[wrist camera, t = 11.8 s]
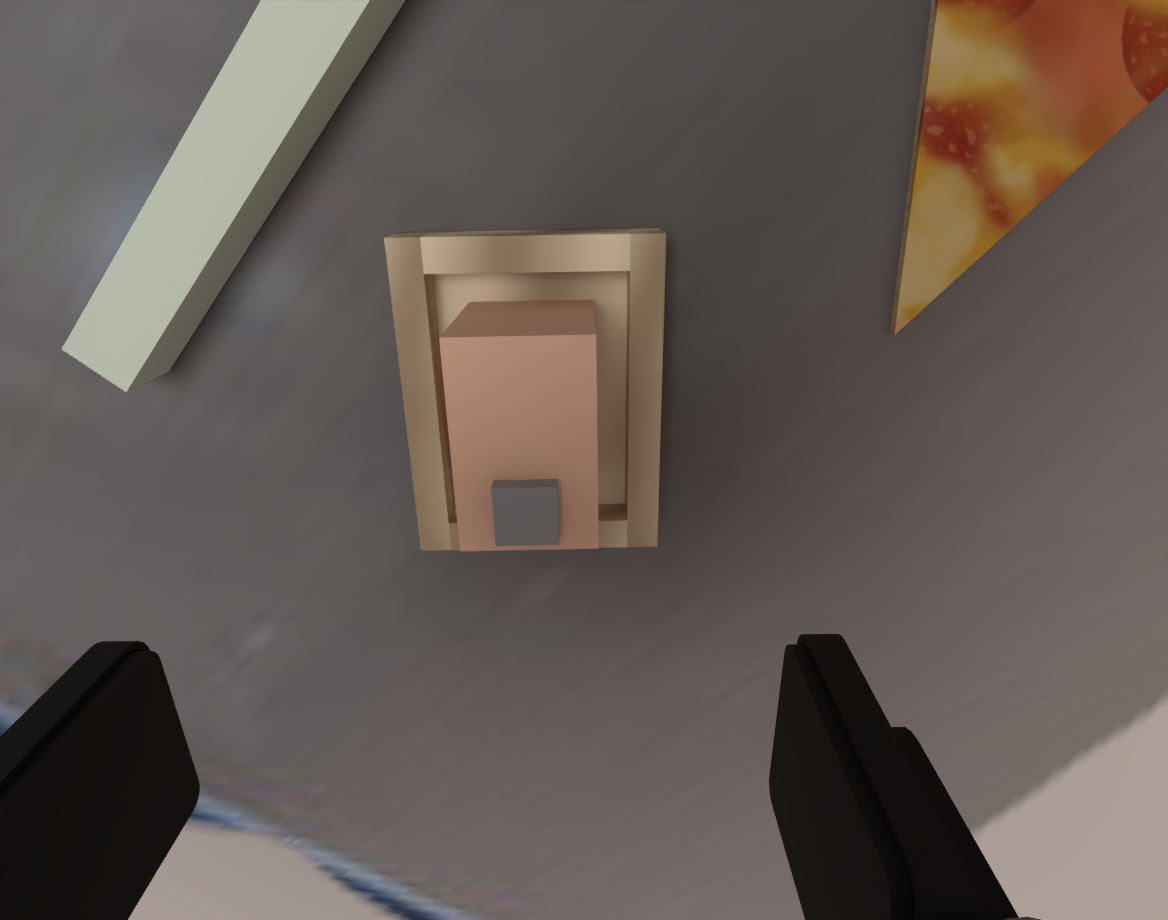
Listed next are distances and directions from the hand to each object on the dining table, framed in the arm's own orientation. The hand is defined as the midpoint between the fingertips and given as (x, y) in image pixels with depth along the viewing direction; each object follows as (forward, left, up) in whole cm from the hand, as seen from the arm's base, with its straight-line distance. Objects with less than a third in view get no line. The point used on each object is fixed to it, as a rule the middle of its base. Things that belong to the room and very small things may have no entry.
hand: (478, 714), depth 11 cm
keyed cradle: (0, 0, -18) cm, 18 cm away
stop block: (0, 0, -18) cm, 18 cm away
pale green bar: (+8, -10, -18) cm, 22 cm away
